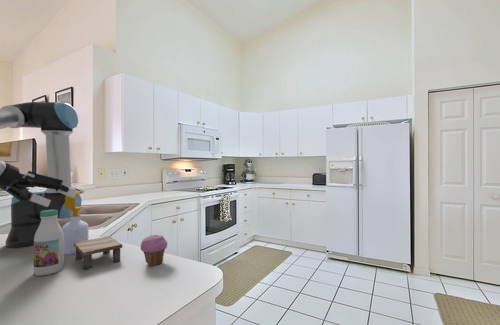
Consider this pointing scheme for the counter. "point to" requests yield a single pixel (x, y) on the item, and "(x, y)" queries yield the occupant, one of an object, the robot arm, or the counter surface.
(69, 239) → the soap bottle
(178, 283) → the counter surface
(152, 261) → the cupcake
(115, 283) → the counter surface
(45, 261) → the milk bottle
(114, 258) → the pegged shelf
